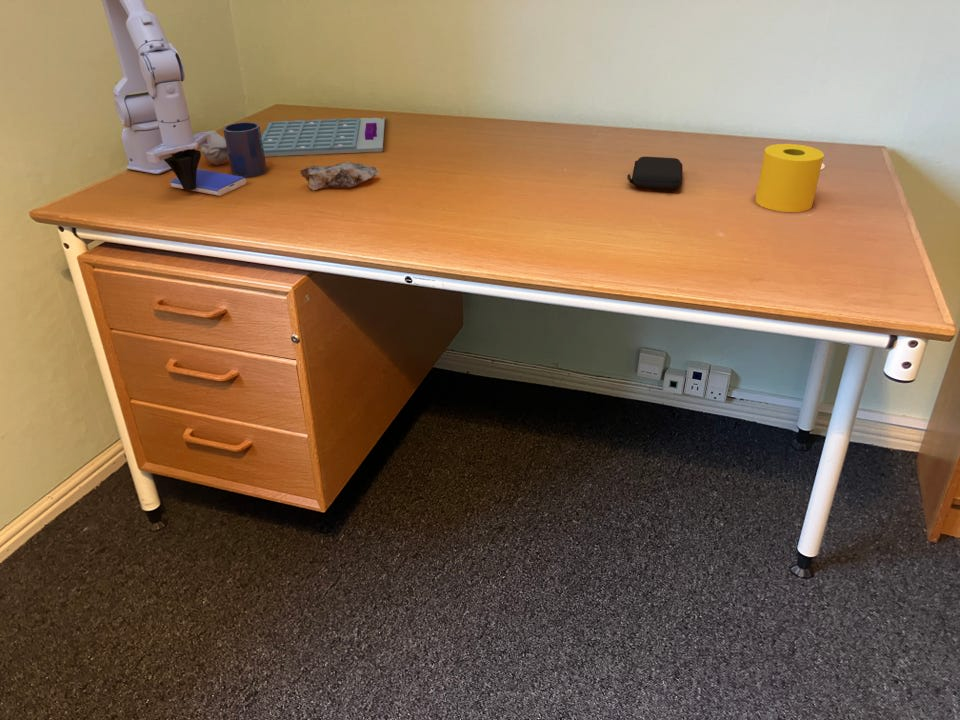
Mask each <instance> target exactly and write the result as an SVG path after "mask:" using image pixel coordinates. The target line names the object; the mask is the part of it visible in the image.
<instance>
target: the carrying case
mask: <svg viewBox="0 0 960 720" xmlns="http://www.w3.org/2000/svg"><path fill="white" fill-rule="evenodd" d="M683 167H684V166H683V163H682V162H681V160H680V159H678V158H676V157H663V156H641V157H639V158H638V159H637V160H635V161H634V165H633V170H632V174H631V175H632V176H631V175H630V173H628V174H627V175H626V178H627V181H628V182H629V184H631V185H633V186H634V187H635V189H636V190H640V191H651V192H666V193H676V192H677V191H679V189H681V188H682V186H683V174H684V173H683V172H684V171H683Z"/></svg>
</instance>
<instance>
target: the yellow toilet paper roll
mask: <svg viewBox="0 0 960 720" xmlns="http://www.w3.org/2000/svg"><path fill="white" fill-rule="evenodd" d="M824 154H825V153H824V152H823V151H821V150H820V149H818V148H815V147H812V146H810V145H804V144H798V143H797V144H796V143H777V144H771V145H768V146H766V147H765V148H764V152H763V157H762V162H761V168H760V172H759V178H758V184H757V189H756V192H755V193H756V194H755V203H757V205H758V206H761V207H762V208H764V209H768V210H771V211H776V212H781V213H782V212H783V213H800V212H801V213H802V212H805V211H808V210H810V209H811V208H812V207H813V203H814V199H815V194H816V190H817V186H818V183H819V178H820V174H821V169H822V165H823V160H824V156H825V155H824Z"/></svg>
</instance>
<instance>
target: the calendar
mask: <svg viewBox="0 0 960 720" xmlns="http://www.w3.org/2000/svg"><path fill="white" fill-rule="evenodd" d="M385 126H386V117H385V116H384V117H383V118H380V117H379V118H378V117H374V116H373V117H372V118H371V117H361V118H358V117H357V118H352V117H349V118H330V119H317V118H316V119H311V120H310V119H309V120H307V119H306V120H301V119H297V120H283V121H282V120H281V121H269V122H268V123H267V125H266V128H265V129H264V131H263V133H262V134H261V137H262V143H263V149H264V155H265V158H266V157H286V156H287V157H288V156H289V157H290V156H311V155H332V154H334V155H336V154H352V153H353V154H355V153H356V154H357V153H380V152H381V153H382V152H384V142H385V141H384V139H385Z"/></svg>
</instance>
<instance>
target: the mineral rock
mask: <svg viewBox="0 0 960 720" xmlns="http://www.w3.org/2000/svg"><path fill="white" fill-rule="evenodd" d="M300 175H301V176H302V178H304V179H305V180H306V181H307V182H308V187H309V189H311V190H312V192H314V191H317V190H321V189H326V188H336V189H339V188H340V189H341V188H345V189H346V188H347V189H349V188H352V187H356V186H357V185H359V184H360V183H363V182H366V181H368V180H370V179H372V178H375V177H377V176H379V175H380V171H379V170H378V169H377V168H376V167H375V166H372V165H371V166H368V165H365V164H363V163H355V162H352V161H351V162H349V161H344V162H341V163H337V164H334V165H325V166H319V165H311V166H310V167H309V166H308V167H305V168H302V169H300Z"/></svg>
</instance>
